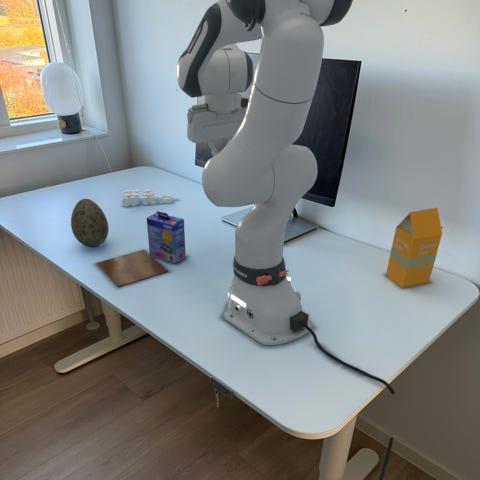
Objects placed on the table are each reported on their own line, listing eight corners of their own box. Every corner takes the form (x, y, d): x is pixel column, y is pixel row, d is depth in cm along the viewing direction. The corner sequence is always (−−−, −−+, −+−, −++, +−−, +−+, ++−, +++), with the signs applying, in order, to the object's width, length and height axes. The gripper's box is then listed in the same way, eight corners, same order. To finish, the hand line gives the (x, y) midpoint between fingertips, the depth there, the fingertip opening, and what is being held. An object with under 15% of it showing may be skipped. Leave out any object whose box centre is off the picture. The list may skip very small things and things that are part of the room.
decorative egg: (94, 235, 151) (85, 190, 142) (118, 242, 146) (111, 197, 138) (68, 248, 143) (57, 201, 135) (93, 256, 139) (84, 208, 130)
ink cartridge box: (148, 256, 138) (144, 209, 130) (159, 249, 142) (156, 204, 134) (176, 264, 134) (174, 216, 126) (186, 257, 139) (184, 210, 130)
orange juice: (385, 274, 130) (399, 206, 118) (411, 269, 132) (427, 202, 121) (402, 288, 124) (419, 218, 112) (429, 282, 126) (448, 213, 115)
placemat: (143, 250, 142) (143, 249, 142) (167, 271, 131) (167, 270, 131) (96, 264, 135) (96, 262, 135) (118, 287, 124) (118, 286, 124)
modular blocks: (124, 206, 171) (122, 196, 169) (124, 200, 177) (123, 190, 175) (177, 203, 175) (176, 192, 172) (176, 196, 180) (175, 186, 178)
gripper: (192, 107, 117) (195, 163, 125) (257, 99, 127) (256, 151, 135) (180, 104, 121) (184, 157, 129) (244, 96, 131) (244, 146, 139)
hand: (221, 154), depth 132 cm, fingers open, 3 cm apart
